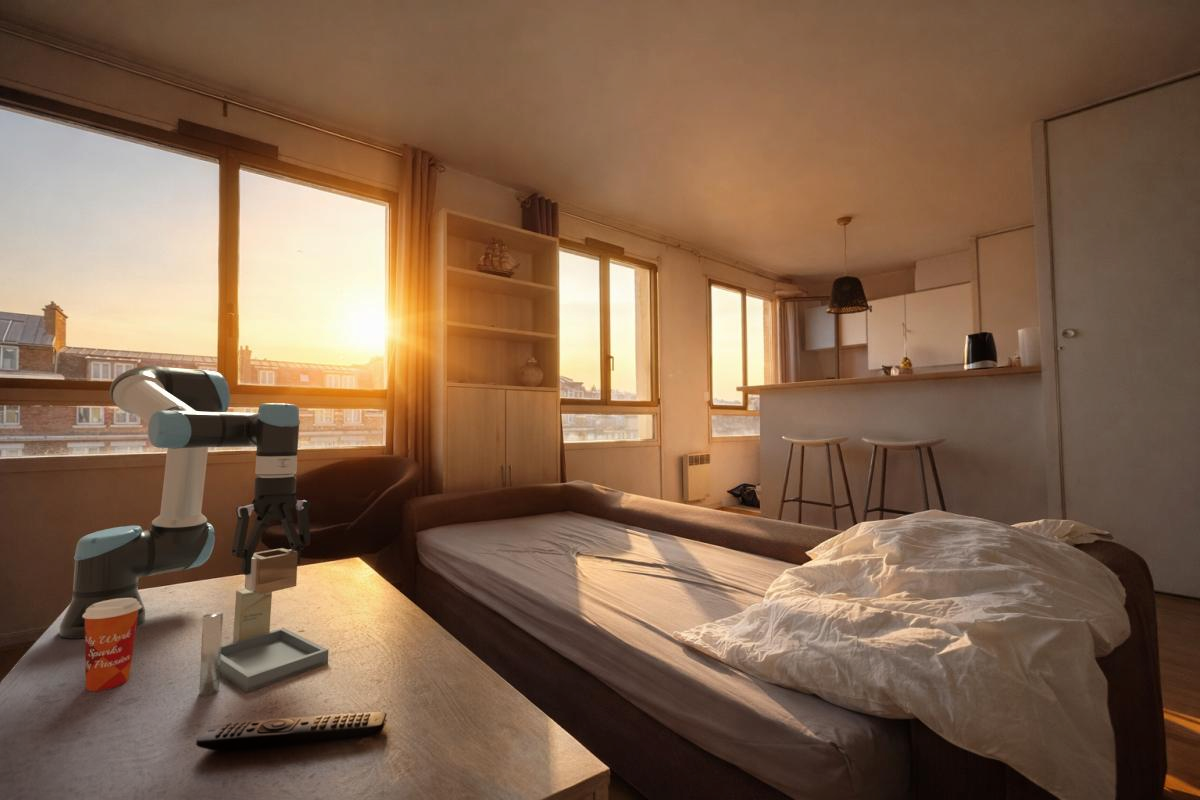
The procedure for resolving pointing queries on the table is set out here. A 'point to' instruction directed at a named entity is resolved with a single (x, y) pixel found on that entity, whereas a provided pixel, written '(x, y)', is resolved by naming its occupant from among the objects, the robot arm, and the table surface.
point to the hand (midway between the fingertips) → (270, 585)
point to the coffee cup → (109, 642)
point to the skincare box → (251, 614)
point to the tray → (269, 658)
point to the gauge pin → (211, 654)
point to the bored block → (275, 570)
